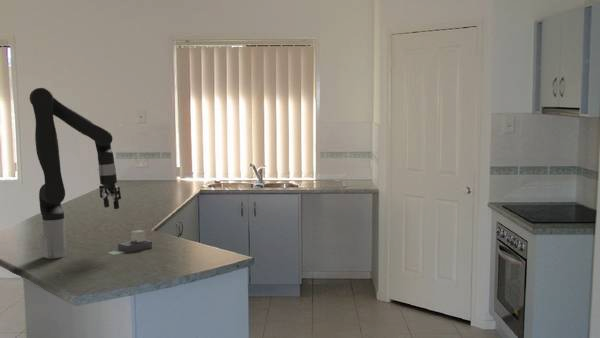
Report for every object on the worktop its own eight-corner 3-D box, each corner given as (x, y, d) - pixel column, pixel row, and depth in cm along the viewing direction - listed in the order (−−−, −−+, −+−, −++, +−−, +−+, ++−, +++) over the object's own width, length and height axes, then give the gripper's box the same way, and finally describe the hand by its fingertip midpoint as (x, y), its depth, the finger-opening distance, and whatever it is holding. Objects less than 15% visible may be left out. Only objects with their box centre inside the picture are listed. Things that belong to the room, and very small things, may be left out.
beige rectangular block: (137, 249, 302) (136, 232, 301) (132, 248, 305) (131, 231, 304) (145, 247, 305) (145, 231, 304) (140, 246, 308) (140, 229, 307)
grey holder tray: (127, 253, 296) (126, 246, 296) (118, 250, 302) (118, 243, 301) (152, 248, 305) (151, 241, 305) (143, 246, 311) (142, 239, 310)
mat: (113, 255, 292) (113, 254, 292) (107, 253, 296) (106, 252, 296) (125, 253, 296) (125, 252, 296) (118, 251, 300) (118, 250, 300)
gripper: (92, 174, 302) (96, 208, 305) (108, 175, 293) (112, 211, 295) (106, 171, 308) (110, 205, 310) (123, 173, 298) (127, 207, 300)
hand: (111, 208), depth 303 cm, fingers open, 8 cm apart
